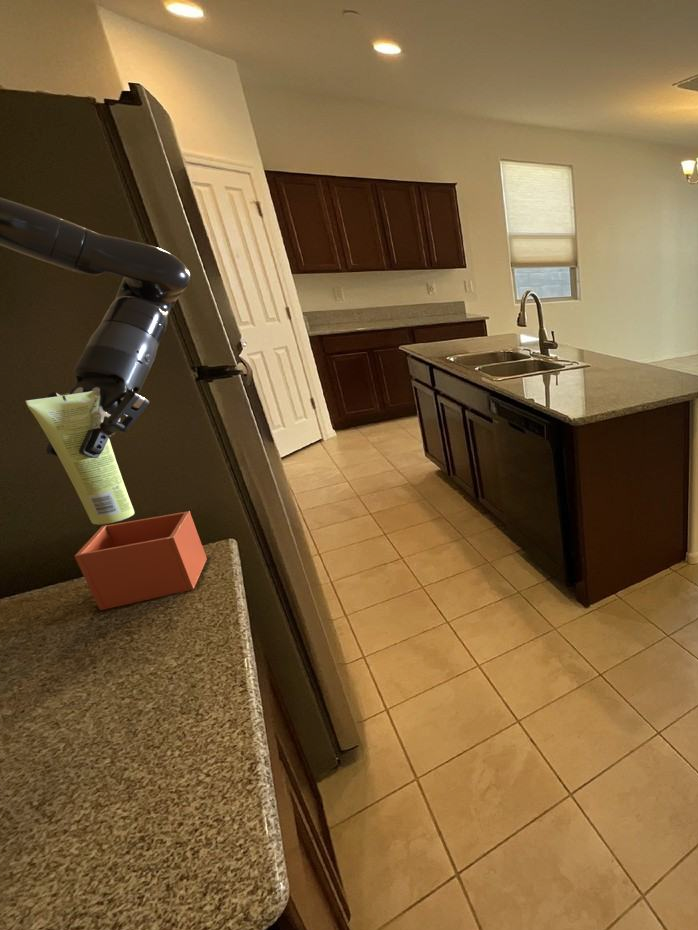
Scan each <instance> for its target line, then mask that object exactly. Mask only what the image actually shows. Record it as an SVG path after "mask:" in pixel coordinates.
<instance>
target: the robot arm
mask: <svg viewBox="0 0 698 930" xmlns="http://www.w3.org/2000/svg"><path fill="white" fill-rule="evenodd" d="M0 246H2V247H4V248H6V249H9V250H12V251H14V252H17V253H20V254H22V255H25V256H28V257H31V258H34V259H35V260H39V261H42V262H45V263H48V264H50V265H54V266H57V267H59V268H62V269H65V270H68V271H70V272H72V271H73V272H74V273H77V274H80V275H83V276H86V277H91V278H98V277H102V276H104V275H106V274H112V275H116V276H120V277H123V278H122V281H121V283H120V285H119V287H118V290H117V293H116V296H115V298H114V300H113V301H112V303H111V304H110V305H109V307H108V308H107V311H106V312H105V314H104V316H103V318H102V320H101V322H100V324H99V325H98V327H97V328H96V330H94V332H93V333H92V334H91V336H90V338H89V340H88V342H87V344H86V346H85V348H84V350H83V352H82V353H81V355H80V357H79V359H78V361H77V363H76V365H75V367H74V368H73V373H74V376H75V377H76V380H77V382H76V383H75V385H74V386H72V387H71V389H70V390H69V391H68V392H67V393H62V394H59V393H58V392H55V391H52V392H50V393H48V395H47V398H50V397H57V396H64V395H70V394H77V393H84V392H90V391H96V392H95V394H94V397H95V398H96V399H95V401H94V403H93V405H92V407H91V409H90V414H91V415H92V417H93V418H92V425H91V428H92V429H93V430H88V432H87V434H86V436H85V439H84V441H83V443H82V445H81V447H80V449H79V453H80V454H82V455H84V456H87V457H89V458H98V457H99V455H100V454H101V452H102V451H103V449H104V447H105V445H106V443H107V440H108V438H109V439H110V437H113V436H115V434H116V433H118V432H119V433H122V434H124V433H126V432H128V431H129V430H130V428H131V427H132V426H133V424H134V423H135V422H136V420H137V419H138V418H139V417H140V415H141V414H142V413H143V412H144V410H146V408H147V407H148V405H149V404H150V400H148V399H147V398H145V397H144V396H142V395H140V394H139V393H140V392H141V390H142V388H143V385H144V383H145V382H146V379H147V377H148V375H149V372H150V370H151V368H152V365H153V363H154V361H155V359H156V355H157V353H158V352H157V351H158V347H159V345H160V342H161V340H162V338H163V336H164V334H165V332H166V330H167V326H168V316H169V314H170V312H171V310H172V308H173V307H174V305H175V303H176V301H177V300H178V299H179V297H180V296H181V295H182V294H183V292H184V291H185V290H186V288H187V287H188V286H189V284H190V281H191V273H190V270H189V269H188V267H187V266H186V264H185V263H184V262H183V261H182V260H180V259H179V258H178V257H177V256H175V255H173V254H172V253H170V252H168V251H166V250H164V249H162V248H159V247H156V246H153V245H150V244H146V243H143V242H138V241H134V240H129V239H126V238H121V237H116V236H111V235H106V234H101V233H98V232H96V231H93V230H91V229H89V228H86V227H84V226H81V225H78V224H76V223H73V222H71V221H69V220H66V219H63V218H61V217H58V216H56V215H53V214H50V213H47V212H46V211H42V210H40V209H37V208H34V207H31V206H29V205H25V204H22V203H19V202H16V201H13V200H10V199H7V198H3V197H0ZM123 416H125V418H124V419H123V420H122V422H121V418H122V417H123ZM45 451H46V454H48V455H49V456H51V457H54V458H57V459H59V457H58V455H57V453H56V452H55V450H54V448H53V446H52V444H51V443H50V441H48V444H47V446H46V450H45Z"/></svg>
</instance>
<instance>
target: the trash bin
mask: <svg viewBox="0 0 698 930" xmlns="http://www.w3.org/2000/svg"><path fill="white" fill-rule="evenodd" d="M74 558H75V561H76V563H77V565H78V567H79V569H80V571H81V573H82V576H83V578H84V580H85V581H86V584H87V586H88V588H89V590H90V593H91V595H92V597H93V599H94V601H95V603H96V606H97V607H98V610H99V611H103V610H108V609H113V608H116V607H121V606H125V605H131V604H134V603H139V602H143V601H148V600H152V599H157V598H161V597H166V596H170V595H174V594H179V593H183V592H188V591H192V590H194V589H195V587H196V585H197V582H198V580H199V578H200V576H201V573H202V571H203V569H204V567H205V565H206V562H207V560H208V558H207V555H206V553H205V549H204V546H203V543H202V541H201V539H200V536H199V533H198V531H197V528H196V525H195V522H194V519H193V517H192V514H191V511H190V510H188V511H181V512H177V513H171V514H164V515H159V516H153V517H148V518H141V519H136V520H129V521H124V522H119V523H111V524H105V525H101V527H100V528H99V529H98V530H96V532H95V533H94V534H93V535H92V537H90V538H89V540H88V541H86V543H85V544H84V545H83V546H82V547H81V548H80V549H79V550H78V551H77V552H76V554H75V555H74Z"/></svg>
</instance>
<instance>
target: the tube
mask: <svg viewBox="0 0 698 930" xmlns="http://www.w3.org/2000/svg"><path fill="white" fill-rule="evenodd" d="M95 392H96V391H90V392H84V393H77V394H70V395H64V396H57V397H50V398H48V397H44V398H35V399H29V400H27V399H26V400H25V404H26V406H27V408H28V409H29V411H30V412H31V413H32V415H33V416H34V418H35V419H36V421H37V422H38V424H39V426H40V428H41V429H42V431H43V432H44V435H45V436H46V437H47V439H48V442H50V443H51V444H52V446H53V448H54V450H55V452H56V453H57V455H58V457H59V458H58V460H59V461H60V463H61V464H62V466H63V468H64V470H65V472H66V474H67V476H68V478H69V480H70V482H71V483H72V485H73V487H74V489H75V491H76V493H77V496H78V497H79V500H80V502H81V504H82V506H83V508H84V510H85V512H86V514H87V517H88V518H89V520H90V522H91V524H93V525H99V526H102V525H110V524H114V523H117V522H121V521H124V520H126V519H129V518H131V517H133V516H134V515H135V509H134V506H133V505H132V504H133V503H132V502H131V501H132V500H131V499H130V497H129V494H128V491H127V487H126V485H125V482H124V480H123V476H122V473H121V470H120V468H119V464H118V463H117V459H116V455H115V453H114V449H113V446H112V443H111V440H110V437H109V438H108V440H107V443H106V445H105V447H104V449H103V451H102V452H101V454H100V455H99V457H98V458H89V457H87V456H84V455H82V454H80V453H79V449H80V447H81V445H82V443H83V441H84V439H85V436H86V434H87V432H88V430H93V429H92V428H91V425H92V418H93V417H92V415H91V414H90V409H91V407H92V405H93V403H94V401H95V399H96V398H95V397H94V394H95Z"/></svg>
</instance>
